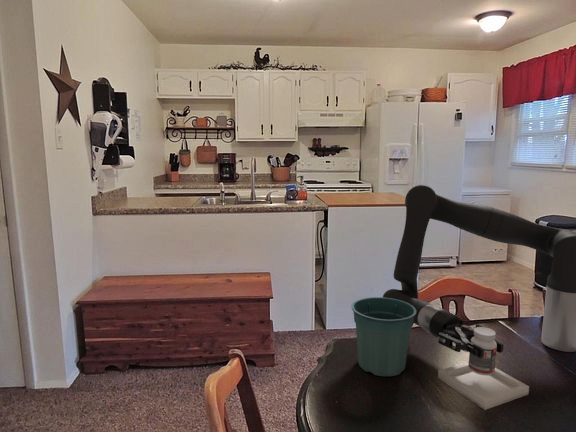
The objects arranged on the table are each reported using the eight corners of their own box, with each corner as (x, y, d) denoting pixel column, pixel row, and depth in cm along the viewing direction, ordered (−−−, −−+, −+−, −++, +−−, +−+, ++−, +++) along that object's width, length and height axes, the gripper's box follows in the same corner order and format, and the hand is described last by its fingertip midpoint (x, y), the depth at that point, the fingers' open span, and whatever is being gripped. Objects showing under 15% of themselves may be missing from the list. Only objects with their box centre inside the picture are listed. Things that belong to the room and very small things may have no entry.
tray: (478, 365, 108) (479, 358, 108) (528, 394, 95) (529, 386, 95) (437, 377, 103) (438, 370, 102) (484, 410, 90) (485, 401, 90)
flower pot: (361, 345, 120) (362, 292, 117) (419, 358, 112) (422, 302, 110) (341, 371, 106) (342, 312, 103) (405, 389, 98) (408, 325, 95)
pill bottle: (497, 377, 95) (501, 337, 93) (471, 374, 96) (474, 335, 95) (490, 364, 101) (494, 327, 99) (465, 362, 102) (469, 324, 100)
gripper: (419, 313, 107) (471, 342, 92) (460, 305, 113) (515, 330, 97) (417, 340, 108) (468, 373, 93) (458, 331, 114) (512, 360, 99)
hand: (492, 351), depth 95 cm, fingers closed on pill bottle, 5 cm apart
